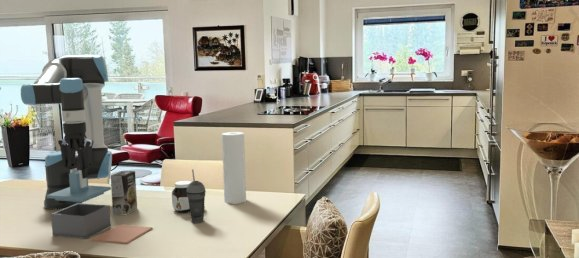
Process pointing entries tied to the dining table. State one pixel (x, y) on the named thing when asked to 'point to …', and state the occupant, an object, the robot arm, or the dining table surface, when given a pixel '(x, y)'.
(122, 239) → the rubber mat
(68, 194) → the lid
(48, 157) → the robot arm
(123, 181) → the coffee box
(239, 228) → the dining table surface
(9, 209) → the dining table surface
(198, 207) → the beverage cup
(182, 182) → the spread jar
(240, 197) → the paper towel roll
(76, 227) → the storage box
